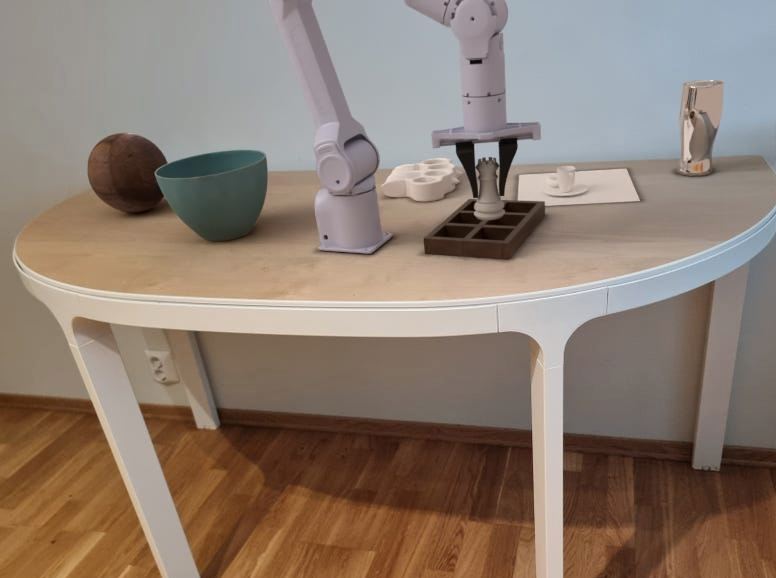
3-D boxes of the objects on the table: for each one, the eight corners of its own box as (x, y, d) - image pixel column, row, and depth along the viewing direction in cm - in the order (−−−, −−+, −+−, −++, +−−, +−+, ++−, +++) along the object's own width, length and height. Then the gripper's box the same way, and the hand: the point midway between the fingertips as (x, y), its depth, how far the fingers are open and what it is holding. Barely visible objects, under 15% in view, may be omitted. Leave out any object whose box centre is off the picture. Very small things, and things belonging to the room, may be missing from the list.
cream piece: (542, 184, 128) (541, 162, 126) (586, 182, 126) (587, 159, 124) (542, 199, 120) (542, 175, 118) (590, 196, 119) (590, 173, 117)
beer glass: (676, 177, 123) (684, 88, 116) (671, 167, 129) (678, 81, 122) (718, 175, 122) (729, 85, 115) (711, 165, 128) (720, 78, 121)
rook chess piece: (485, 209, 102) (483, 154, 99) (511, 213, 100) (509, 156, 96) (467, 218, 100) (464, 162, 96) (493, 222, 97) (491, 164, 93)
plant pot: (152, 250, 118) (130, 178, 112) (214, 215, 132) (198, 149, 126) (243, 254, 111) (225, 178, 105) (298, 217, 126) (285, 148, 120)
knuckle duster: (396, 176, 143) (467, 173, 140) (378, 204, 128) (458, 200, 125) (394, 160, 141) (466, 156, 139) (376, 185, 126) (456, 181, 123)
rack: (424, 253, 104) (423, 238, 102) (469, 212, 118) (469, 198, 117) (508, 259, 98) (508, 243, 97) (545, 215, 113) (545, 201, 112)
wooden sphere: (190, 196, 146) (170, 122, 138) (159, 220, 133) (136, 139, 125) (123, 201, 148) (100, 128, 141) (87, 224, 135) (60, 146, 128)
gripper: (426, 103, 89) (435, 207, 96) (542, 93, 87) (542, 199, 94) (430, 94, 95) (438, 192, 102) (537, 84, 93) (538, 185, 100)
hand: (488, 195), depth 98 cm, fingers closed on rook chess piece, 3 cm apart
